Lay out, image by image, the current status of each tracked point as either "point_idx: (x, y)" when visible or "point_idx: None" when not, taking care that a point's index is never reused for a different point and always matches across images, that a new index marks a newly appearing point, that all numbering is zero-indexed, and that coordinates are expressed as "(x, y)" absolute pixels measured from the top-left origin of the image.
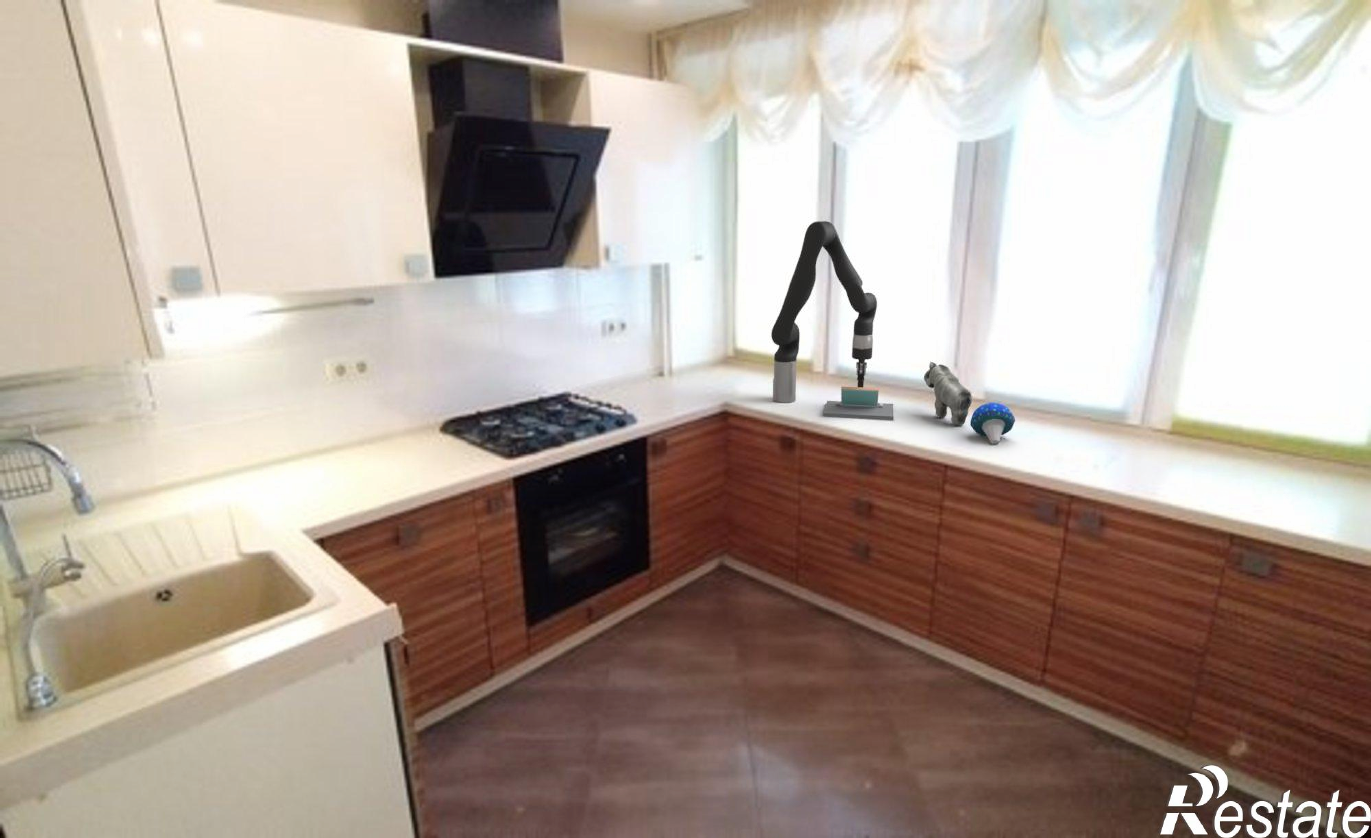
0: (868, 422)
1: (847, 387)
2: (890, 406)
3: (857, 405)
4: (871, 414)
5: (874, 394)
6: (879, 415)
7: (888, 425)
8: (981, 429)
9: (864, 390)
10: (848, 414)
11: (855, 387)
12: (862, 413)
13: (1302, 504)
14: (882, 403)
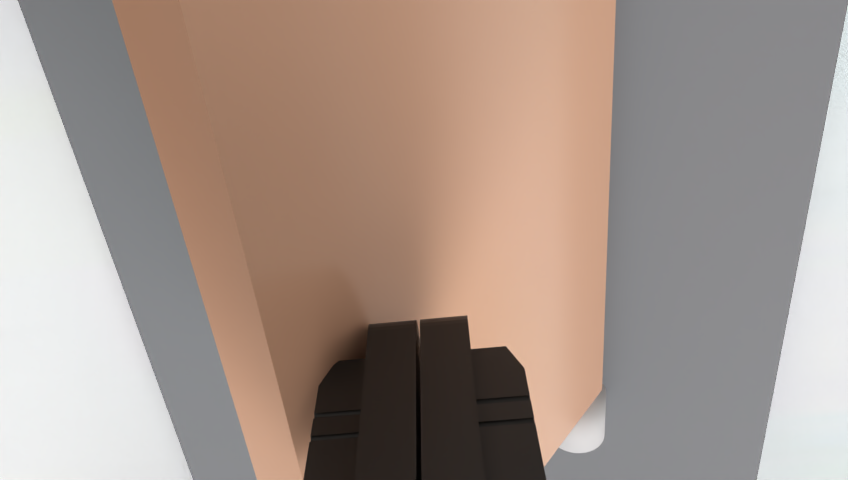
0: (4, 292)
1: (183, 109)
2: (630, 475)
3: (613, 104)
4: (186, 334)
5: None
6: (186, 414)
7: (17, 470)
8: None
9: (261, 476)
10: (35, 33)
11: (254, 335)
12: (177, 228)
13: None
14: (577, 449)
